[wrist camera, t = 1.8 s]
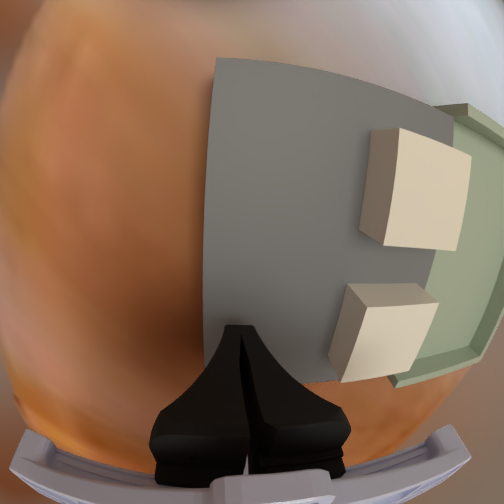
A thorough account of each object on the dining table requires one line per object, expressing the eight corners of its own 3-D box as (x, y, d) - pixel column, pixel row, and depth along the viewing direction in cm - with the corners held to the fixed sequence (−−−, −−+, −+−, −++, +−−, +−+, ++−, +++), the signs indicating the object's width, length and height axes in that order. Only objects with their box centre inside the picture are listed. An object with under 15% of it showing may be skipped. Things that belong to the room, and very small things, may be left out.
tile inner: (392, 347, 16) (408, 370, 14) (327, 355, 16) (340, 383, 13) (416, 283, 14) (439, 302, 12) (347, 283, 14) (367, 307, 12)
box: (459, 339, 21) (480, 361, 18) (374, 356, 20) (394, 388, 16) (508, 152, 15) (539, 158, 11) (428, 107, 13) (467, 103, 10)
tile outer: (428, 236, 13) (455, 251, 11) (358, 229, 13) (383, 245, 10) (441, 152, 12) (471, 156, 9) (370, 130, 11) (399, 127, 9)
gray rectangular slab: (375, 348, 20) (391, 371, 17) (207, 354, 18) (205, 384, 16) (424, 118, 14) (453, 117, 11) (218, 75, 12) (216, 57, 10)
